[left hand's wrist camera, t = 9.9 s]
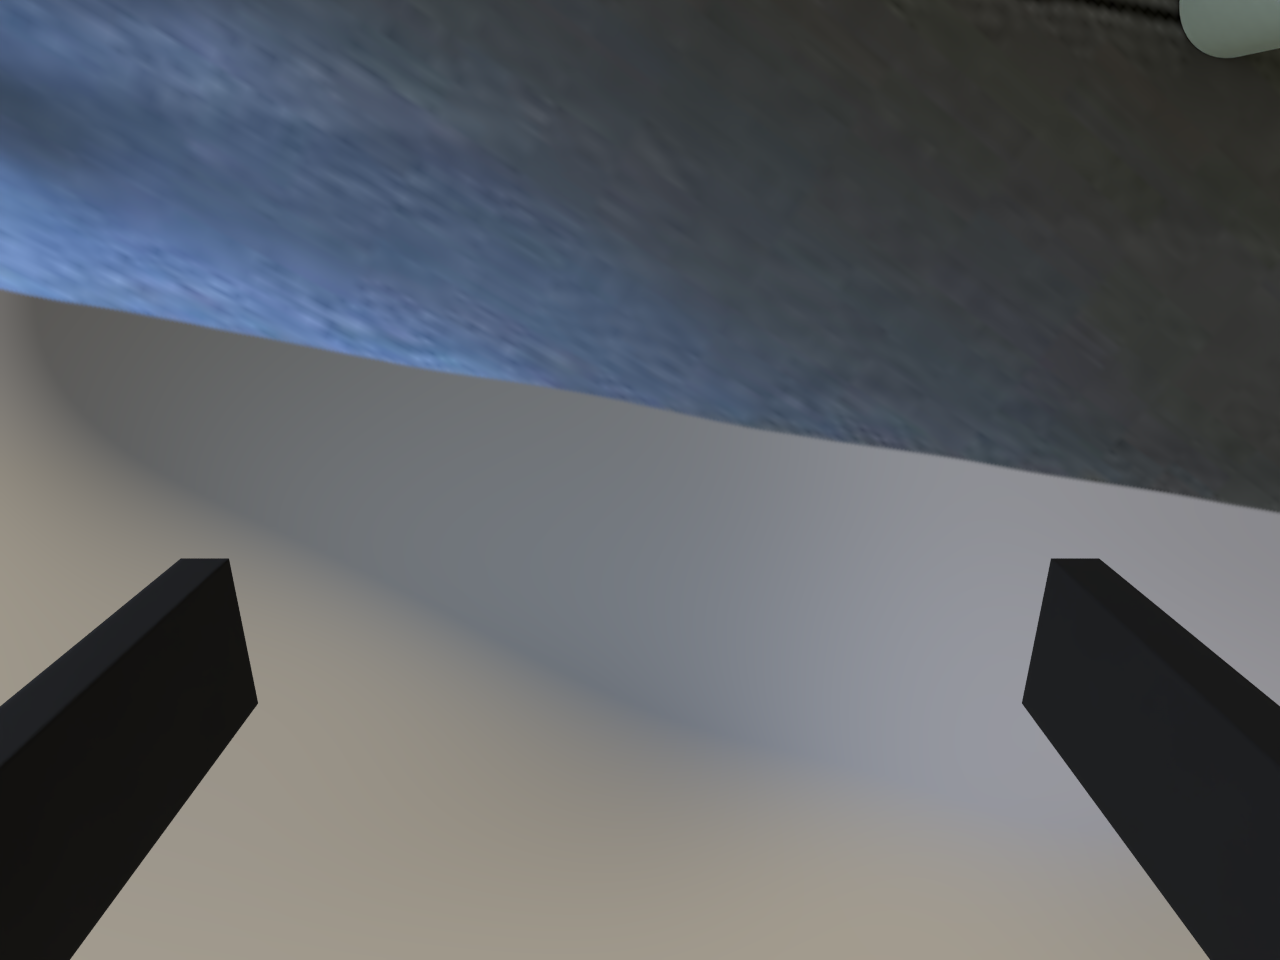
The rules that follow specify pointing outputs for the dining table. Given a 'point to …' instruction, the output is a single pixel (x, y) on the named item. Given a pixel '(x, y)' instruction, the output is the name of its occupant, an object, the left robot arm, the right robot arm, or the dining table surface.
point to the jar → (1231, 26)
